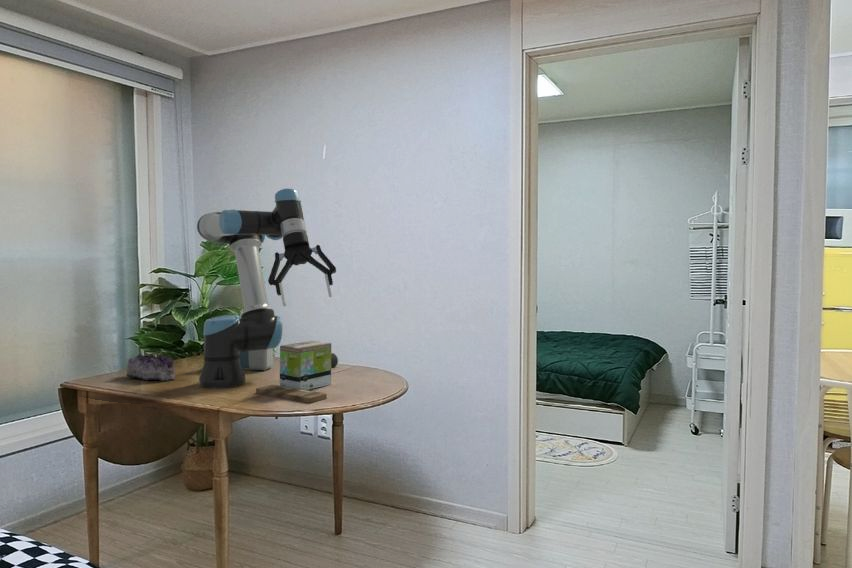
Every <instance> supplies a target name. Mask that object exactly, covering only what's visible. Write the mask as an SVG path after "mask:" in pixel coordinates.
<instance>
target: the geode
mask: <svg viewBox="0 0 852 568" xmlns="http://www.w3.org/2000/svg"><path fill="white" fill-rule="evenodd" d="M127 362H128V364H127V365H126V377H128V378H137V379H140V380H144V381H155V380H157V381H161V383H162V382H163V383H165V382H174V381H175V378H176V371H175V368H174V367H175V364H174V359H171V358H170V356H166V355H164V354H163V355H159V356H155V355H153V354H148V353H147V354H144V355H143V354H142V353H139V354H137V356H134V357H130V358H129V359H128V360H127Z"/></svg>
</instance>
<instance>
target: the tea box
mask: <svg viewBox="0 0 852 568" xmlns="http://www.w3.org/2000/svg"><path fill="white" fill-rule="evenodd" d="M331 353H332V343H331V342H323V341H315V340H309V341H308V340H307V341H302V342H301V341H300V342H293V343H288V344H282V345H280V346H279V386H284V387H290V388H296V389H302V390H308V391H310V390H313V389H317V388H322V387H327V386H330V385H331V384H332V367H331Z"/></svg>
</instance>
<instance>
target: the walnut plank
mask: <svg viewBox="0 0 852 568" xmlns="http://www.w3.org/2000/svg"><path fill="white" fill-rule="evenodd" d="M258 393H259V394H258ZM255 394H258V395H263V394H264V395H265V396H269V397H274V396H275V398H280V397H281V398H280V399H285V398H286V400H291V401H297V402H303V403H306V404H307V403H308V404H314V403H316V402H319V401H323V400H325V399H327V397H328V396H327V395H328V394H327V393H324V392H319V391H313V390H302V389H296V388H290V387H284V386H280V385H279V384H270V385H264V386H262V387H258V388H255ZM264 395H263V396H264Z"/></svg>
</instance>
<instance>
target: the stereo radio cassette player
mask: <svg viewBox="0 0 852 568" xmlns="http://www.w3.org/2000/svg"><path fill="white" fill-rule="evenodd" d="M240 363H241V365H242V368H243V370H252V371H253V370H256V371H264V372H265V371H266V370H268V369H271V368H272V367H273V366H274V348H272V349H267V350H253V351H242V352H240Z"/></svg>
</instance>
